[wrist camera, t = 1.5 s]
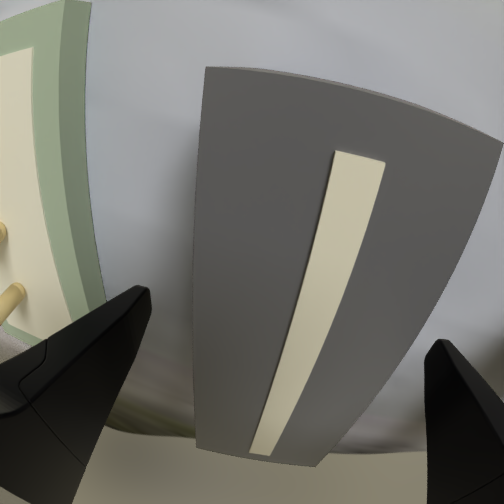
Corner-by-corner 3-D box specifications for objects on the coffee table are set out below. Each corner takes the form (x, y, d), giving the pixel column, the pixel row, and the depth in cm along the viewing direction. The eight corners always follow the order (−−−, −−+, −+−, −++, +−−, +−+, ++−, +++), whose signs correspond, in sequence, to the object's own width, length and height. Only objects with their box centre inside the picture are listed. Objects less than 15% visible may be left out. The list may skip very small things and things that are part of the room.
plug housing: (416, 104, 8) (506, 144, 4) (319, 377, 15) (315, 469, 11) (254, 68, 8) (203, 66, 4) (221, 359, 15) (195, 449, 11)
